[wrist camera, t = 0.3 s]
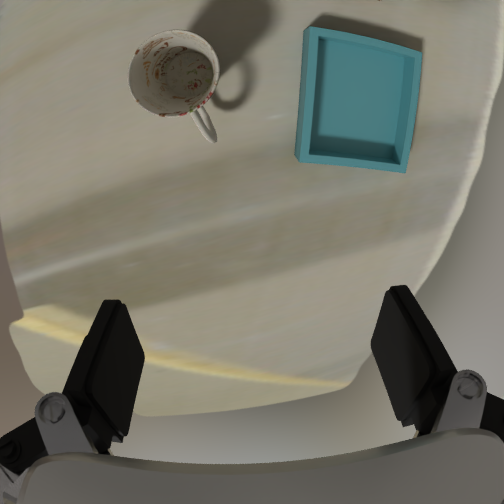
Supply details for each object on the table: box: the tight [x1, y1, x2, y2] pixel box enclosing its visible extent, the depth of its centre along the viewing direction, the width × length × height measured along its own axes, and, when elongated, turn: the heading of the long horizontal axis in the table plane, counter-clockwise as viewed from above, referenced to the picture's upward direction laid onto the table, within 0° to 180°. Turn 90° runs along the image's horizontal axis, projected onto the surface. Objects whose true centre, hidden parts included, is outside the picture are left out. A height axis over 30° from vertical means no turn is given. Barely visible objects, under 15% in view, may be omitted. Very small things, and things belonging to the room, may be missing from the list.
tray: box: [294, 26, 422, 173], centre depth 32 cm, size 16×14×4 cm
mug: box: [128, 30, 220, 143], centre depth 28 cm, size 8×13×10 cm, turn 26°
